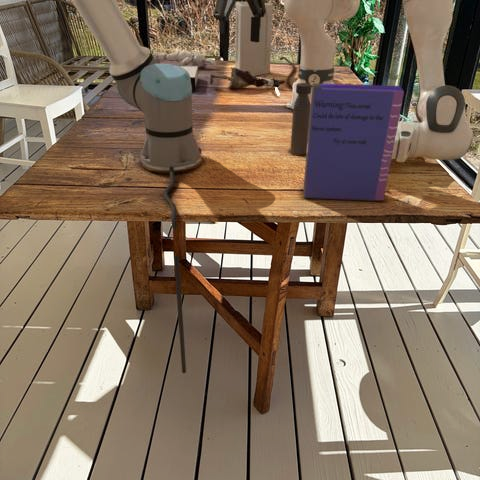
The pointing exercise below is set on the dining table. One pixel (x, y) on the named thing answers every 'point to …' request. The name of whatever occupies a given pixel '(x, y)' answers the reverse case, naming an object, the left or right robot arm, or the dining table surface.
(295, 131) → the bottle
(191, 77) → the disc drive
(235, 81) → the figurine
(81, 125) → the dining table surface
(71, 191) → the dining table surface
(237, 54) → the paper bag
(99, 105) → the dining table surface
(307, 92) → the cap
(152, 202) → the dining table surface
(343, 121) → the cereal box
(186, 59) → the toy
